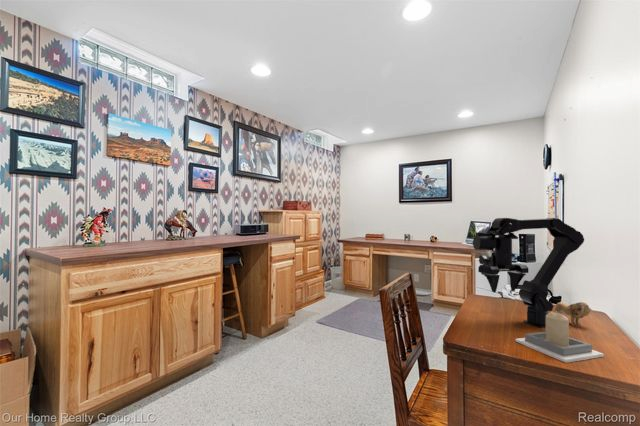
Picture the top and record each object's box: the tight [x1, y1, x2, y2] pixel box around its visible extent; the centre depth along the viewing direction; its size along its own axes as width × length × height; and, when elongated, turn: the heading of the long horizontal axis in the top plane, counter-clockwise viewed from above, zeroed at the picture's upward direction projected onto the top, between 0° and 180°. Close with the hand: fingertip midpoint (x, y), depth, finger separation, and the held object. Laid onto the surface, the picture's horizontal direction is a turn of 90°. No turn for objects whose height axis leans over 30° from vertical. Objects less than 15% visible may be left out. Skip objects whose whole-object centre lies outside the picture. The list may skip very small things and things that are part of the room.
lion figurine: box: [553, 301, 592, 326], centre depth 115 cm, size 15×5×9 cm, turn 14°
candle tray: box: [515, 331, 604, 364], centre depth 90 cm, size 15×15×3 cm
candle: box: [545, 311, 570, 347], centre depth 90 cm, size 6×6×10 cm
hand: (503, 291), depth 112 cm, fingers open, 9 cm apart
